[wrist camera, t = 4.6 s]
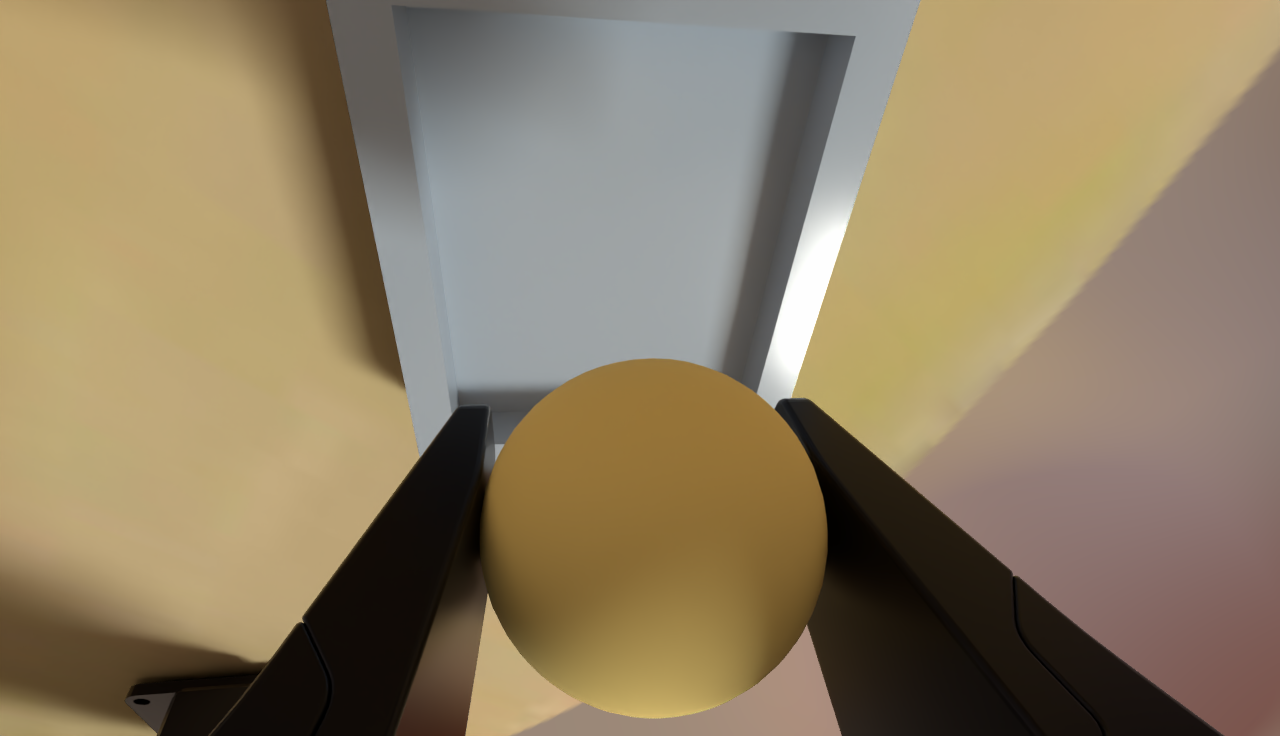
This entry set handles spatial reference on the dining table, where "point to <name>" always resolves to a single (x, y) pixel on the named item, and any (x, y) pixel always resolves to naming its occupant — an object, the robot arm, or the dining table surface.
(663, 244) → the tray
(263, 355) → the dining table surface
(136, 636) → the dining table surface
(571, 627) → the ball
